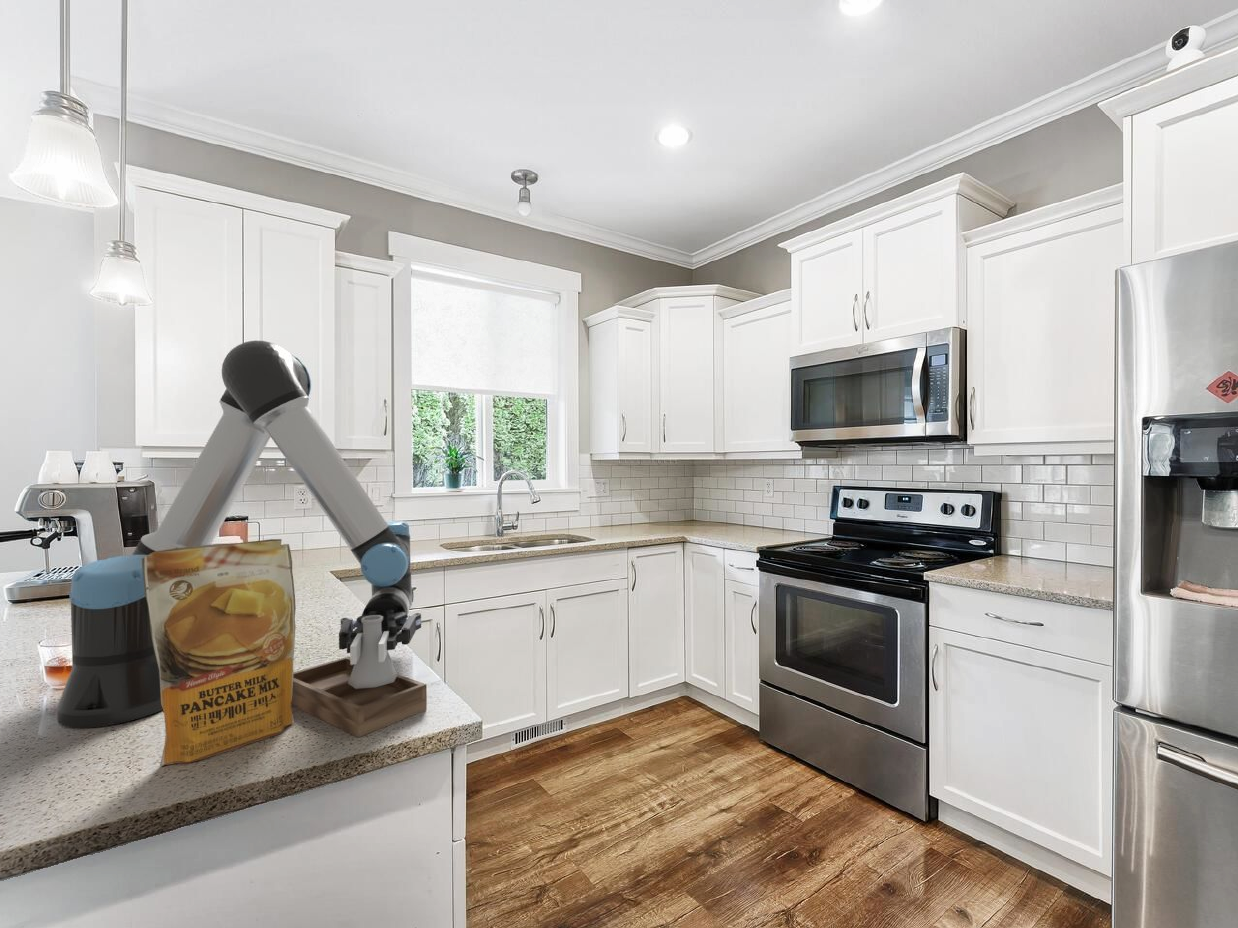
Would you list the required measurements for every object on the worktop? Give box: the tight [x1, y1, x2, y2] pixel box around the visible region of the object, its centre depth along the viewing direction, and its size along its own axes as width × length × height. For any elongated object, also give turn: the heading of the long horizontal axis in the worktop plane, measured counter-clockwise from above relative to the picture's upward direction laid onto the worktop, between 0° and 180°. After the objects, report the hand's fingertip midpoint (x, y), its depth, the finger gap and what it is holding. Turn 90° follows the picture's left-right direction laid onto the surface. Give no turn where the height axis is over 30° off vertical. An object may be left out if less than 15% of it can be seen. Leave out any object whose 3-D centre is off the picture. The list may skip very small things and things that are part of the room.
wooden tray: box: [291, 656, 428, 738], centre depth 98 cm, size 22×12×4 cm, turn 55°
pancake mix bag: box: [142, 538, 297, 767], centre depth 85 cm, size 7×19×28 cm, turn 140°
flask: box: [348, 615, 398, 689], centre depth 94 cm, size 7×7×10 cm
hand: (367, 653), depth 89 cm, fingers closed on flask, 3 cm apart
